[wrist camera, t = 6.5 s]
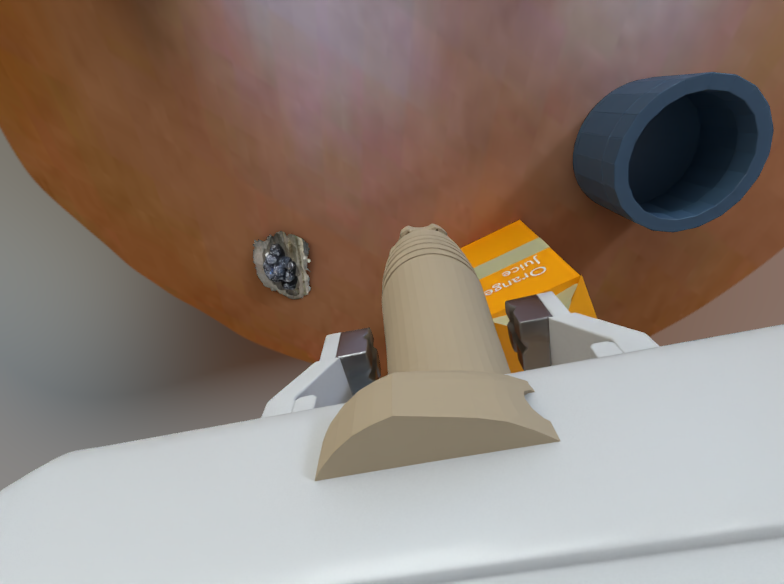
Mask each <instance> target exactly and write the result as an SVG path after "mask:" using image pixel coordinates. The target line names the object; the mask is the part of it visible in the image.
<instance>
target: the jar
mask: <svg viewBox="0 0 784 584" xmlns="http://www.w3.org/2000/svg"><path fill="white" fill-rule="evenodd" d="M772 136H773V123H772V117H771V112H770V106H769V104H768V102H767V101H766V99H765V98H764V96H763V95H762V93H761V92H760V90H759V89H758V88H757V87H756V85H754V84H752V83H750V82H749V81H747V80H745V79H743V78H742V77H740V76H738V75H736V74H726V73H716V72H708V73H697V74H685V75H673V76H662V77H652V78H648V79H641V80H636V81H633V82H630V83H627V84H625V85H623V86H621V87H619V88H617V89H615V90H614V91H612V92H611V93H609V94H608V95H607V96H605V97H604V98H603V99H602V100H601V101H600V102H599V103H598V104H597V105H596V106H595V107H594V108H593V109H592V111H591V112H590V113H589V115H588V116H587V118H586V119H585V121H584V122H583V124H582V126H581V128H580V130H579V133H578V135H577V138H576V142H575V145H574V152H573V167H574V173H575V177H576V180H577V182H578V184H579V186H580V188H581V189H582V191H583V192H584V193H585V194H586V195H587V196H588V197H589V198H590V199H591V200H593V201H594V202H595V203H597V204H599V205H601V206H603V207H605V208H607V209H609V210H611V211H613V212H615V213H617V214H619V215H621V216H623V217H625V218H627V219H629V220H631V221H633V222H635V223H637V224H639V225H642V226H644V227H646V228H648V229H650V230H653V231H664V232H678V231H682V230H687V229H692V228H696V227H699V226H701V225H703V224H705V223H707V222H709V221H711V220H713V219H715V218H717V217H719V216H721V215H723V214H724V213H725V212H726V211H727V210H729V209H730V208H731V207H732V206H734V205H735V204H736V203H737V202H739V201H740V200H741V198H742V197H743V196H744V195H745V194H746V192H747V191H748V190H749V189H750V187H751V186H752V185H753V184H754V182H755V181H756V180H757V177H759V175H760V173H761V171H762V169H763V166H764V164H765V162H766V160H767V158H768V156H769V153H770V148H771V142H772Z"/></svg>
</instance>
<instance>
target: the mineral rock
mask: <svg viewBox="0 0 784 584" xmlns="http://www.w3.org/2000/svg"><path fill="white" fill-rule="evenodd" d="M254 243H255V244H253V246H254V247H255V249H254V250H253V251H254V253H253V258H254V261H253V262H254V263H255V264H256V267H255V268H256V270H257V275H258V278H259V279H260V280H261V282H262V283H263V285H264V286H266V287H269V288H271V290H272V291H273V290H275V291H276V290H278V292H279V293H280V294H281V293H282V294H283V295H285V296H287V297H288V298H291V299H299V298H302V297H303V296H304V295H307V294H308V292H309V291H310V288H311V287H309V285H310V284H309V279H310V278H309V276H308V275H307V274H306V271H305V270H308V271H309V269H307V267H308V266H306V265H307V262H308V263H310V261H311V260H310V259H307V256H308V254H309V253H308V252H309V248H308V243H306V241H304V240H303V239H300V237H297V236H295V235H292V234H289V235H288V236H286V234H285V232H282V231H280V232H277V233H276V234H275V236H274V237H273V236H271V235H270V236H268V237H267V239H266V241H265V242H264V241H261V240H259V241H256V240H254ZM262 269H263V270H262ZM310 272H311V271H310Z"/></svg>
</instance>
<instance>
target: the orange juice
mask: <svg viewBox="0 0 784 584" xmlns="http://www.w3.org/2000/svg"><path fill="white" fill-rule="evenodd" d="M460 249H461V250H462V252H463V253H464V254H465V256H466V258H467V259H468V260H469V262H470V264H471V265H472V267H473V269H474V271H475V273H476V275H477V277H478V279H479V281H480V283H481V286H482V288H483V291H484V294H485V297H486V301H487V304H488V307H489V310H490V313H491V316H492V319H493V322H494V325H495V328H496V331H497V334H498V337H499V340H500V343H501V346H502V349H503V351H504V354H505V357H506V360H507V363H508V366H509V368H510V371H511V373H515V372H521V371H524V370H523V368H522V366H521V364H520V362H519V360H518V354H517V352H515V351H514V350H513V348H512V345H511V342H510V339H509V334H508V328H507V324H508V322H509V318H508V316H507V314H506V311H505V301H508V300H512V299H517V298H521V297H526V296H530V295H535V294H540V293H544V292H549V291H552V292H553V293H554V294H555V295H556V296H557V298H558V299H559V300H560V301H561V302H562V303H563V305H564V306H565V307H566V308H567V309H568V311H569V312H570V313H579V314H582V315H585V316H589V317H592V318H596V319H597V317H596V314H595V311H594V308H593V305H592V303H591V300H590V297H589V294H588V291H587V289H586V286H585V283H584V280H583V277H582V275H581V277H580V275H579V274H578V273H577V272H576V271H575V270H574V269H573V268H571V267H570V266H569V265H568V264H567V263H566V262H565V261H564V260H563V259H562V258H561V257H560V256H558V255H557V254H556V253H555V252H554V251H553V250H552V249H551V248H550V246H549V245H547V244H546V243H545V242H544V241H543V240H542V239H541V238H540V237H538V236H537V235H536V234H535V233H534V232H532V231H531V230H530V229H529V228H528V227H527V226H526V225H525V224H524V223H523V222H522V221H521V220H518V221H516V222H514V223H512V224H510V225H508V226H506V227H504V228H502V229H500V230H497V231H495V232H493V233H491V234H489V235H487V236H485V237H483V238H481V239H479V240H477V241H475V242H473V243H471V244H469V245H466V246H464V247H462V248H460Z"/></svg>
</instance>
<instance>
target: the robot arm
mask: <svg viewBox="0 0 784 584" xmlns="http://www.w3.org/2000/svg"><path fill="white" fill-rule="evenodd" d="M505 311H506V314H507V316H508V318H509V322H508V324H507V328H508V334H509V339H510V342H511V345H512V348H513V350H514V351H515V352H517V354H518V360H519V362H520V364H521V366H522V368H523V370H524V371H521V372H515V373H510V374H504V375H509V376H512V377H516V378H519V379H522V380H525V381H528V383H529V385H530V386H531V387H532V388H533V389H534V391H535V392H532V393H527V394H526V395H524V396H525V399H526V401H527V402H528V403H529V405H530V406H531V408H532V409H533V410H535V411H536V412H537V413H538V414H540V415H541V416H542V417H543V418H545V419H547V420H549V421H551V423H552V425H553V427H554V429H555V431H556V433H557V435H558V437H559V439H560V441H559V442H553V443H546V444H540V445H534V446H527V447H521V448H515V449H509V450H502V451H496V452H490V453H484V454H477V455H471V456H465V457H459V458H452V459H446V460H440V461H434V462H427V463H421V464H415V465H409V466H403V467H397V468H391V469H385V470H379V471H373V472H367V473H361V474H355V475H349V476H343V477H337V478H331V479H325V480H319V481H315V476H316V471H317V466H318V461H319V457H320V452H321V448H322V443H323V440H324V437H325V434H326V432H327V430H328V427H329V425H330V424H331V422H332V420H333V419H334V418H335V416H336V415H337V414H338V412H339V411H340V409H341V408H342V407H343V405H344V404H345V403H346V402H347V401H348V400H350V399H351V398H352V397H353V396H354V395H355V394H356V393H357V392H358V391H359V390H361V389H362V388H364V387H366V386H367V385H369V384H371V383H372V382H374V381H376V380H378V379H379V377H380V376H381V367H380V360H379V355H378V351H377V349H376V348H375V347H373V343H374V338H373V334H372V331H371V329H370V327H369V328H364V329H358V330H352V331H347V332H342V333H341V332H340V333H335V334H331V335H327V336H326V339H325V342H324V346H323V350H322V353H321V357H320V361H318V362H315V363H314V364H312V365H311V366H310V367H309V368H308V369H306V370H305V371H304V372H303V373H302V374H301V375H299V376H298V377H297V378H296V379H295V380H293V381H292V382H291V383H290V384H289V385H287V386H286V387H285V388H284V389H283V390H281V391H280V392H279V393H278V394H277V395H275V396H274V397H273V398H272V399H271V400H270V401H268V403H267V405H266V407H265V410H264V412H263V415H262V417H261V418H259V419H253V420H248V421H242V422H237V423H231V424H226V425H220V426H214V427H209V428H203V429H197V430H192V431H186V432H181V433H175V434H170V435H164V436H158V437H153V438H148V439H142V440H136V441H130V442H125V443H119V444H114V445H109V446H103V447H96V448H90V449H84V450H78V451H73V452H69V453H66V454H64V455H62V456H60V457H57V458H55V459H54V460H52V461H50V462H48V463H46V464H45V465H43V466H41V467H39V468H37V469H36V470H34V471H32V472H31V473H29V474H27V475H26V476H24V477H22V478H21V479H19V480H17V481H16V482H14V483H13V484H11V485H9V486H7V487H6V488H4V489H3V490H2V491H0V584H784V324H782V325H777V326H771V327H766V328H760V329H755V330H749V331H743V332H738V333H732V334H727V335H721V336H716V337H711V338H705V339H699V340H693V341H688V342H682V343H677V344H671V345H666V346H661V347H660V346H659V345H658V344H657V343H655V342H654V341H653V340H652V339H651V338H650V337H649V336H648V335H647V334H646V333H643V332H639V331H636V330H633V329H629V328H626V327H622V326H619V325H616V324H612V323H609V322H606V321H602V320H599V319H596V318H592V317H589V316H585V315H582V314H579V313H570V312H569V311H568V309H567V308H566V307H565V306H564V305H563V303H562V302H561V301H560V300H559V299H558V298H557V296H556V295H555V294H554V293H553V292H552V291H549V292H544V293H540V294H535V295H530V296H526V297H521V298H517V299H512V300H508V301H505Z"/></svg>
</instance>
